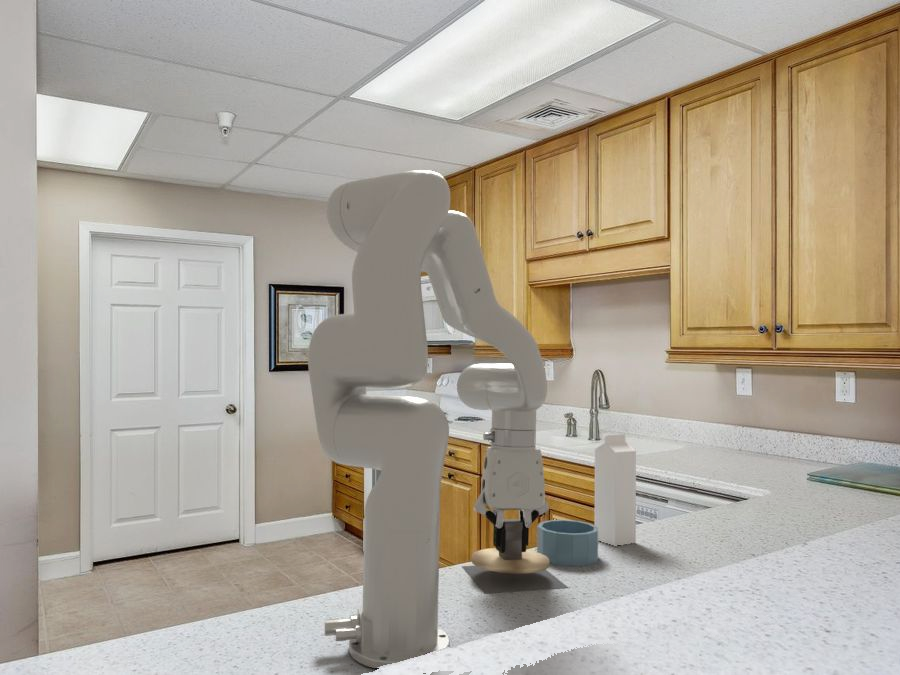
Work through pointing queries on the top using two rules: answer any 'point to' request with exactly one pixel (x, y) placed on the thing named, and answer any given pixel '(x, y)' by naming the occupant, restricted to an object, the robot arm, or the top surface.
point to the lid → (511, 554)
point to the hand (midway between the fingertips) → (510, 549)
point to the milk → (615, 491)
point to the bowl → (568, 542)
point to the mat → (512, 580)
